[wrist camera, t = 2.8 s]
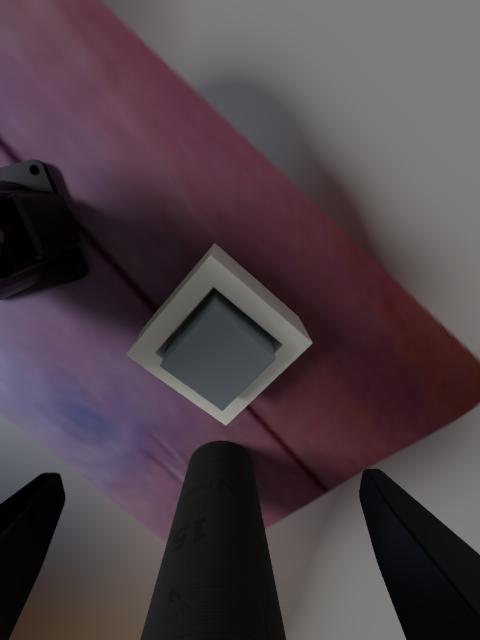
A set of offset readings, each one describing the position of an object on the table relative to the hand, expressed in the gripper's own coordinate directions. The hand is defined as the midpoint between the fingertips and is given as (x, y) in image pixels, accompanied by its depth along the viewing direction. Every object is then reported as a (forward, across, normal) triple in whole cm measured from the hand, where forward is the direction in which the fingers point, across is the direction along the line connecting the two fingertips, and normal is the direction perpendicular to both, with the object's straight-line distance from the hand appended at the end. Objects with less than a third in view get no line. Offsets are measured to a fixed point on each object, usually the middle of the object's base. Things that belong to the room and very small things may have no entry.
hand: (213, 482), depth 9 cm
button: (+11, 0, 0) cm, 11 cm away
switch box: (+13, 0, 0) cm, 13 cm away
